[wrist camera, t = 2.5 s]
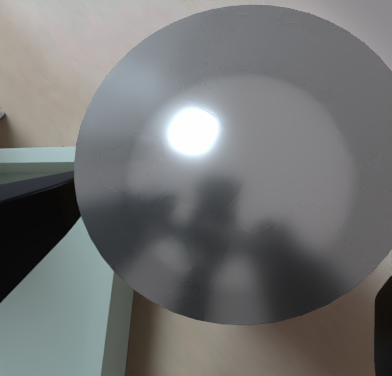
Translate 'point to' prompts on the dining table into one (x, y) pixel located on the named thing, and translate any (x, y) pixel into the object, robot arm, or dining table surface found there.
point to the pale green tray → (63, 295)
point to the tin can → (240, 165)
